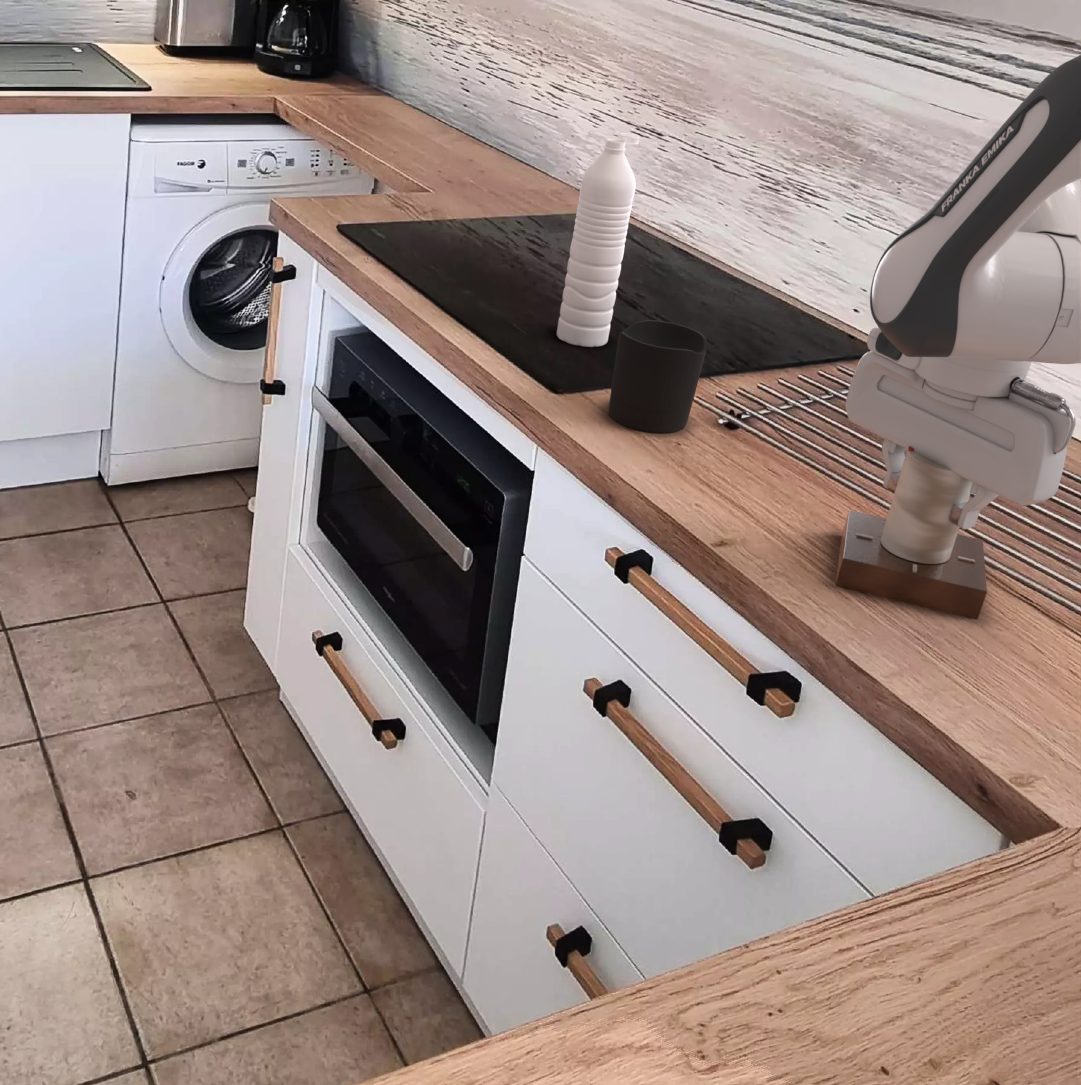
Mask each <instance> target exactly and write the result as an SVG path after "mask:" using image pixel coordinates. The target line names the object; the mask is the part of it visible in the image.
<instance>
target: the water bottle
mask: <svg viewBox="0 0 1081 1085" xmlns="http://www.w3.org/2000/svg"><path fill="white" fill-rule="evenodd" d="M640 137H641V136H640V135H639V134H636V133H632V132H631V133H630V132H620V133H619V134H618V138H606V139H605V140H606V141H605V142H604V143H605V145H602V147H603V151H602V152H600V154H599V155H598V156H597V158H595V160H594V161H593V162H592V163H591V164H590V165H589V167H587V169H586V170H585V171H584V174H583V175H582V177H581V181H580V187H579V194H578V195H579V198H578V204H577V206H576V207H577V208H576V209H577V210H576V212H575V216H576V217H575V219H574V225H573V230H574V231H573V232H572V239H571V243H570V246H569V258H568V260H567V265H566V270H567V273H566V275H565V278H564V285H565V286H564V288H563V291H562V302H561V304H560V309H559V317H558V320H557V329H556V336H557V338H558V339H559V340H561V341H563V342H566V344H570V345H574V346H580V347H586V348H587V347H589V348H594V347H596V348H597V347H602V346H604V345H606V344H607V343H608V341H609V335H610V331H611V322H612V320H613V314H614V306H615V302H616V298H617V292H616V291H617V290H618V286H619V278H620V275H621V271H622V261H623V258H624V254H625V248H626V245H625V243H626V242H627V238H626V237H627V234H628V229H629V223H630V216H631V214H632V212H631V211H632V209H633V208H632V207H633V202H634V198H635V194H636V187H637V186H636V185H637V184H636V183H637V182H636V177H635V175H634V172H633V170H632V167H631V165H630V163H629V161H628V159H627V156H626V154H625V151H626V150H627V148H626V145H627V146H638V145H639V143H640Z"/></svg>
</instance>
